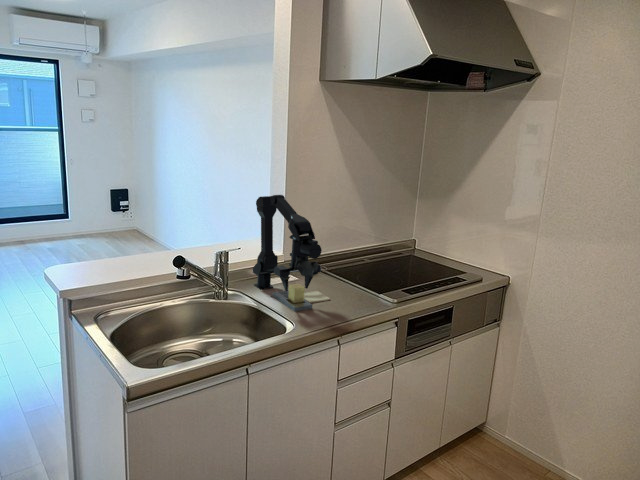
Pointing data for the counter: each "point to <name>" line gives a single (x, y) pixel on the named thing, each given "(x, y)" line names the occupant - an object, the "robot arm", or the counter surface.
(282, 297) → the grey block holder tray
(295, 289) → the brass block
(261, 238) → the robot arm
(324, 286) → the counter surface
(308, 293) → the pale folded cloth
